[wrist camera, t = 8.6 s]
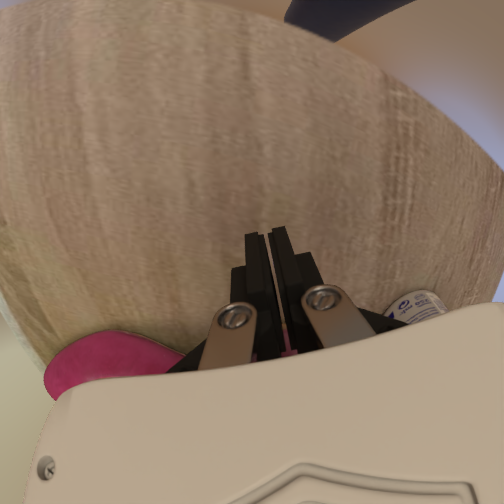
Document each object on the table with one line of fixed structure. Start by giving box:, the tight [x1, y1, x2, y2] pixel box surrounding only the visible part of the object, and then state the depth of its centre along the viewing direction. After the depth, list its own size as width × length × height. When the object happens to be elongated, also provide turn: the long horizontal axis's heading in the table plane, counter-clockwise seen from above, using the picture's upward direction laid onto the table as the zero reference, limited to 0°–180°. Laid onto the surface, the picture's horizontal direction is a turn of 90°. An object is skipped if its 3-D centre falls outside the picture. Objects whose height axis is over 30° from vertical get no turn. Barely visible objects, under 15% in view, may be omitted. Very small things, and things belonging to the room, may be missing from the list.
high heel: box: [44, 323, 298, 401], centre depth 14 cm, size 26×9×12 cm, turn 98°
